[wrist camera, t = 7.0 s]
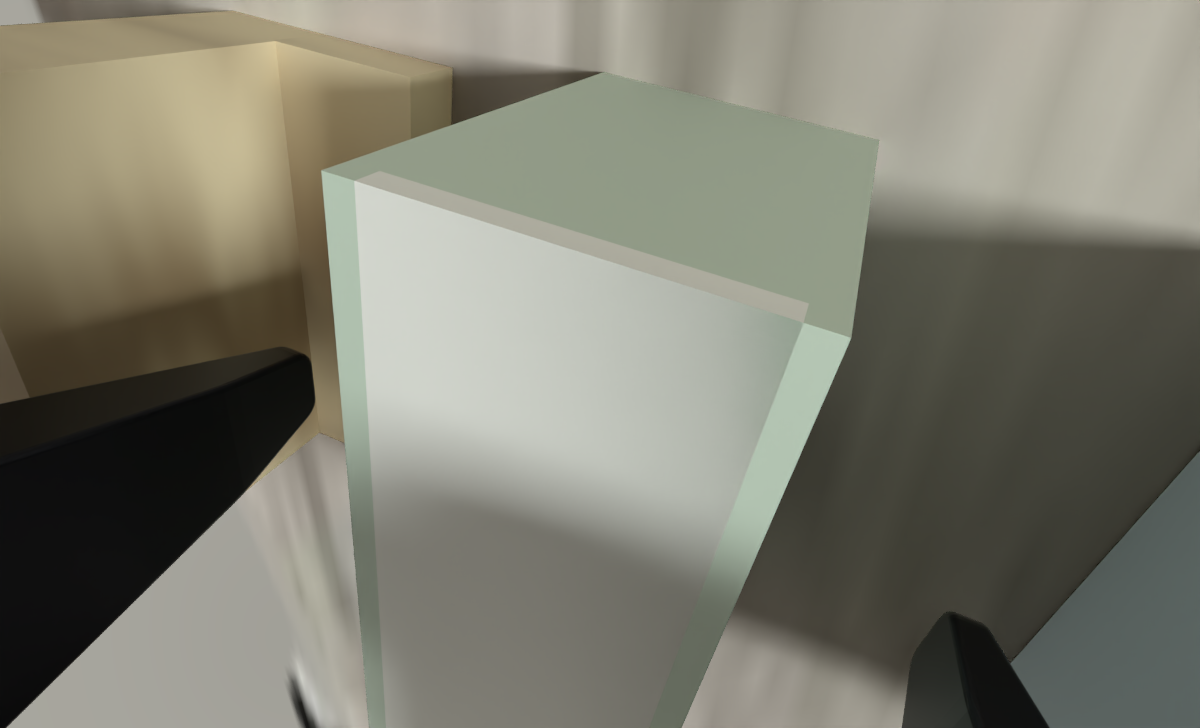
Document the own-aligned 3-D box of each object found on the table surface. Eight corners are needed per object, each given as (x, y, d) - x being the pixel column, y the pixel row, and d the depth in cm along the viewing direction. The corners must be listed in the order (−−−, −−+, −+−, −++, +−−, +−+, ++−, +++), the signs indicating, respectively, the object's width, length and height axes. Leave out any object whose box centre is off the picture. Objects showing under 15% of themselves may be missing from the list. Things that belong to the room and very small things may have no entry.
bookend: (444, 440, 15) (231, 659, 10) (286, 375, 16) (25, 549, 11) (455, 67, 11) (85, 150, 6) (235, 10, 12) (-232, 40, 7)
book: (713, 568, 14) (613, 883, 9) (542, 497, 15) (370, 750, 10) (879, 138, 9) (851, 338, 4) (606, 72, 10) (321, 169, 5)
